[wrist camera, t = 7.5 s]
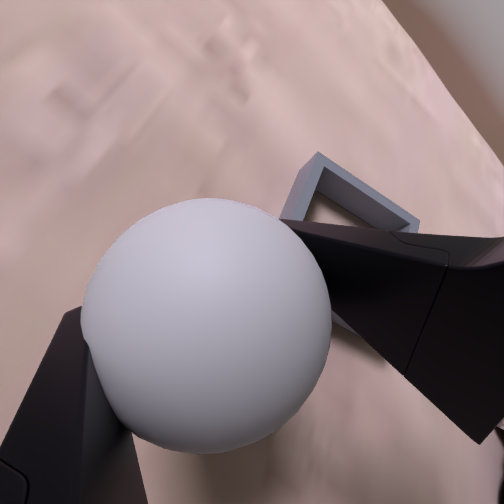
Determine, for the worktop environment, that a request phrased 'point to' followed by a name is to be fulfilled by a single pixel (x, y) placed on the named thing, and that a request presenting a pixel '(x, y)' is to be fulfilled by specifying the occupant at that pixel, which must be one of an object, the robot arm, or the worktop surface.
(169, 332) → the lightbulb
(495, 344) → the robot arm
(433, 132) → the worktop surface
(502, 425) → the caster wheel
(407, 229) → the grey square frame
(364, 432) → the worktop surface
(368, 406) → the worktop surface
